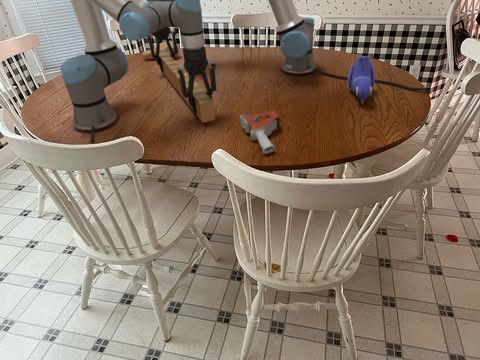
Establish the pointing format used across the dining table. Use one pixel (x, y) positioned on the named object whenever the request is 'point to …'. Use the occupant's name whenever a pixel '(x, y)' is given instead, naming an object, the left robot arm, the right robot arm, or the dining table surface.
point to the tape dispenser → (261, 128)
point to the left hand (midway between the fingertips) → (202, 111)
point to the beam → (201, 98)
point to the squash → (163, 48)
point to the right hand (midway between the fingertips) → (167, 70)
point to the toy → (361, 78)
